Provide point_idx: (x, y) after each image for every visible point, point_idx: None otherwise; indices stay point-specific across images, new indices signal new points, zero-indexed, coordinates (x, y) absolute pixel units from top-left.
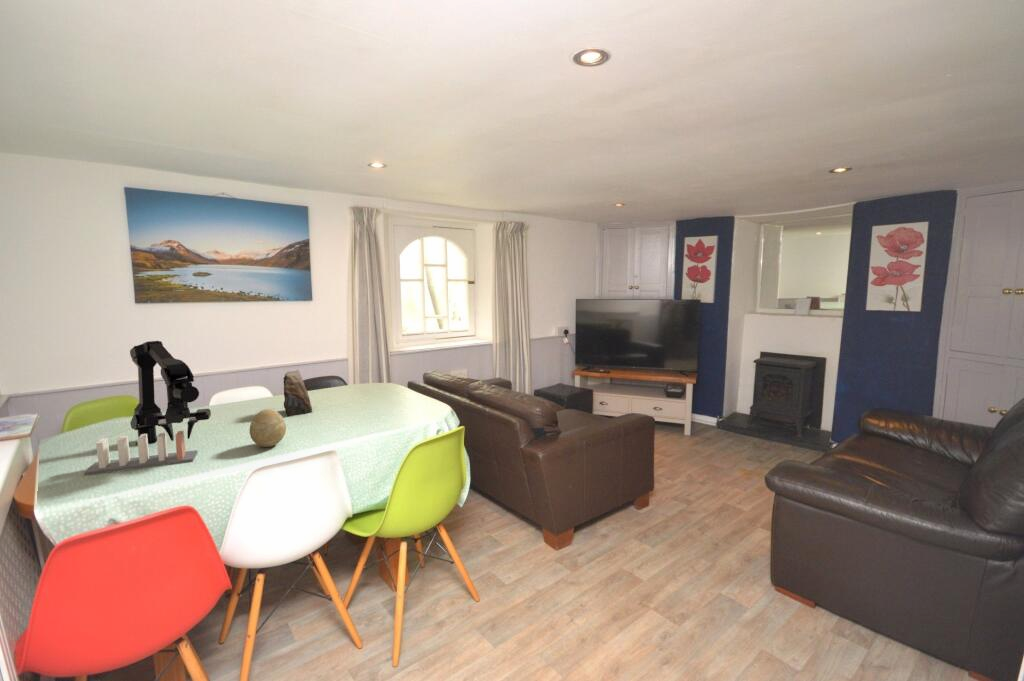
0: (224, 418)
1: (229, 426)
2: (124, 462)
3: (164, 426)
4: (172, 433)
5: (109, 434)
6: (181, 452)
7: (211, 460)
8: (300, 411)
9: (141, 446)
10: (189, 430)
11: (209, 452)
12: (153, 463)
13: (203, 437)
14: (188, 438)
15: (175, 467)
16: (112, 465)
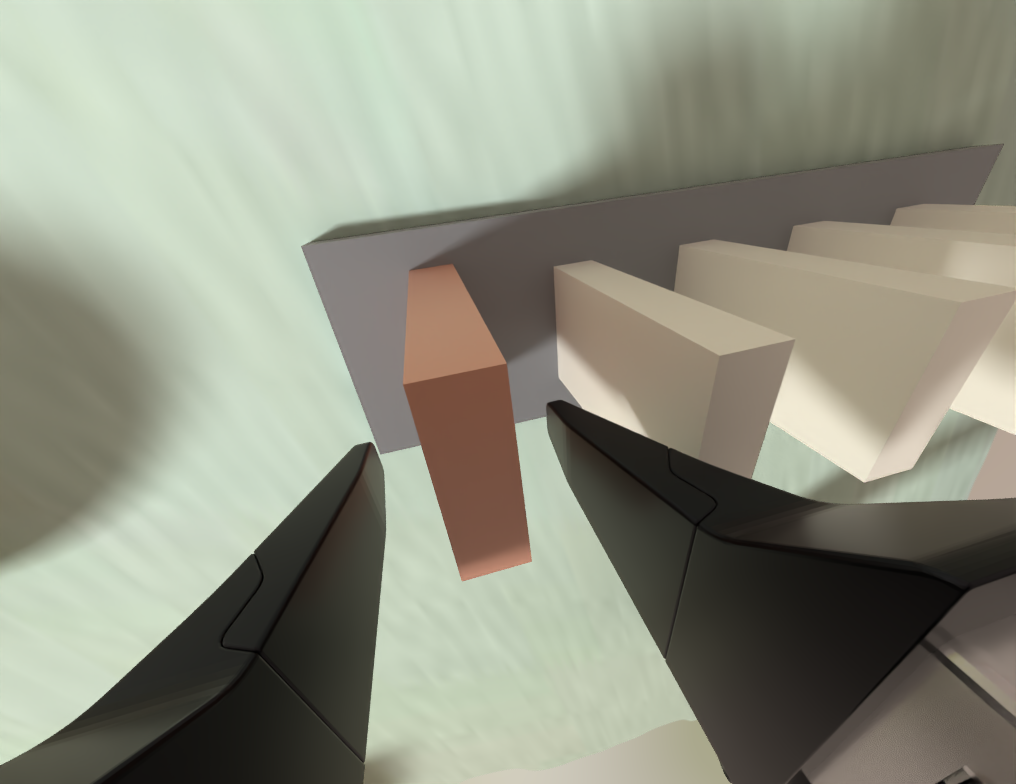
0: (465, 764)
1: (399, 727)
2: (819, 228)
3: (900, 518)
4: (589, 485)
5: None
6: (415, 285)
7: (99, 226)
8: None
9: (841, 269)
10: (281, 549)
11: (284, 438)
12: (621, 206)
13: (464, 631)
14: (360, 445)
15: (408, 98)
16: None
